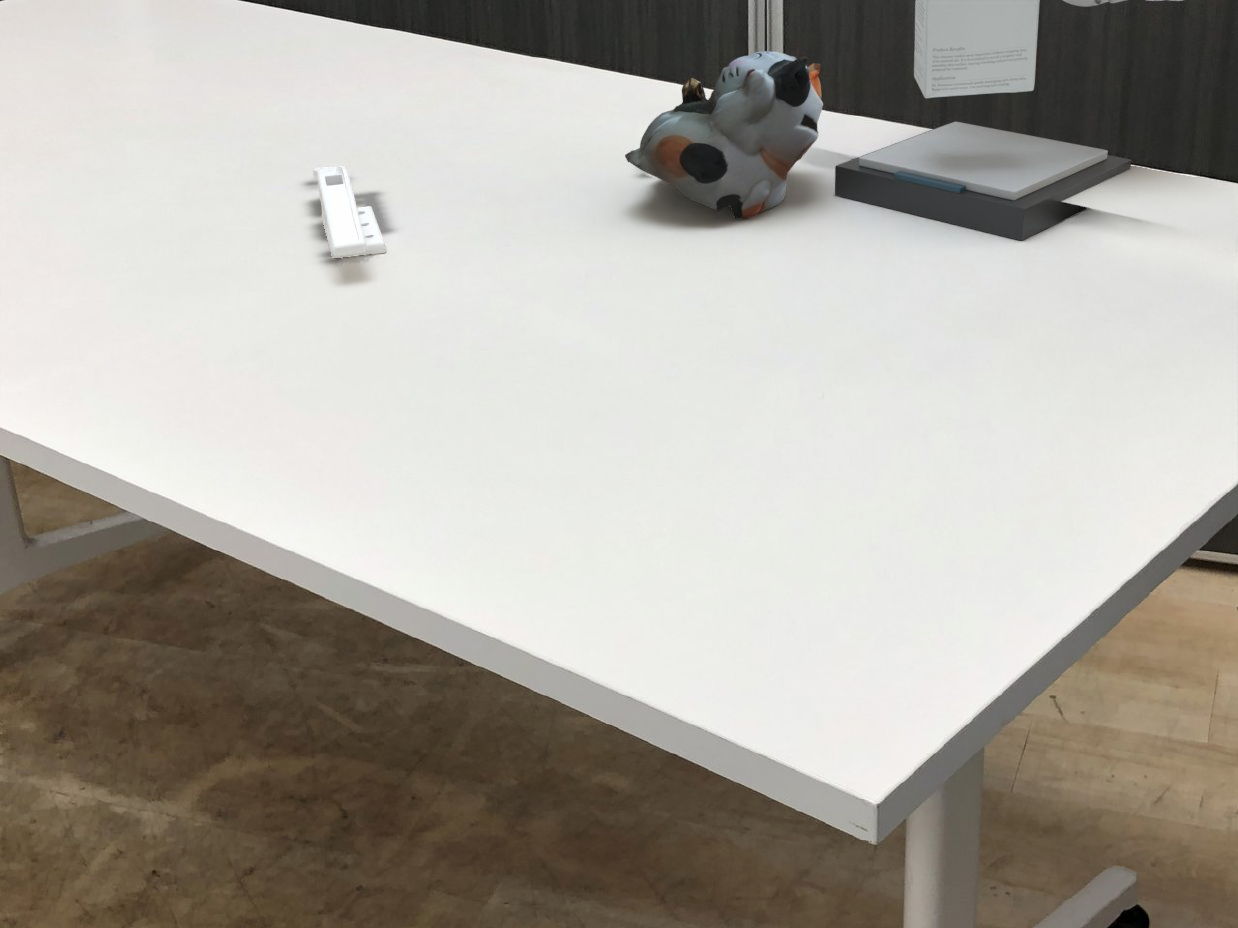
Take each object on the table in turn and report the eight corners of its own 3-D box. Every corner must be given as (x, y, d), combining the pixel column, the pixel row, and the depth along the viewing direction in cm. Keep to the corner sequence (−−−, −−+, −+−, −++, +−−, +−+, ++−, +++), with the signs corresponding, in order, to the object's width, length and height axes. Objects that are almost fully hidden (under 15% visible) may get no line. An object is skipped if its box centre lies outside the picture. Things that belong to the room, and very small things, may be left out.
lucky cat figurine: (669, 165, 123) (746, 13, 118) (787, 236, 120) (871, 82, 115) (597, 164, 109) (680, -8, 104) (727, 243, 106) (819, 70, 101)
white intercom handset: (366, 195, 120) (357, 131, 117) (395, 277, 103) (386, 203, 100) (317, 202, 119) (307, 136, 116) (338, 285, 102) (327, 211, 99)
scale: (1127, 189, 112) (1132, 150, 111) (1021, 241, 103) (1025, 199, 102) (944, 151, 123) (947, 115, 122) (834, 195, 114) (835, 157, 113)
